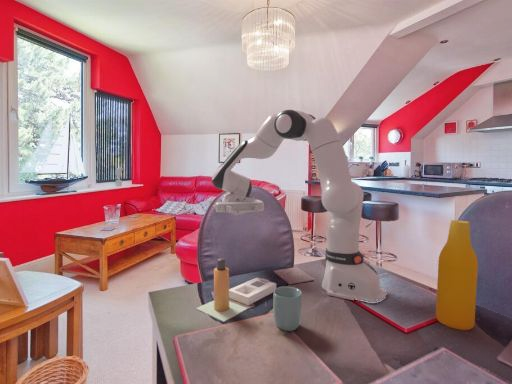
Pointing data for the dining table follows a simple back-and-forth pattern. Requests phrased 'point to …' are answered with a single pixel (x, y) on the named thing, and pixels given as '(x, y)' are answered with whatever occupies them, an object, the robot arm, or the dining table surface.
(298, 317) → the cup
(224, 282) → the orange capped bottle
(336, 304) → the dining table surface
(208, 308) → the mat
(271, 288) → the white bottle holder
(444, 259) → the beer bottle
